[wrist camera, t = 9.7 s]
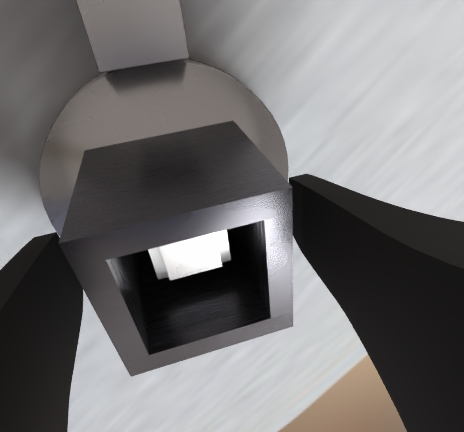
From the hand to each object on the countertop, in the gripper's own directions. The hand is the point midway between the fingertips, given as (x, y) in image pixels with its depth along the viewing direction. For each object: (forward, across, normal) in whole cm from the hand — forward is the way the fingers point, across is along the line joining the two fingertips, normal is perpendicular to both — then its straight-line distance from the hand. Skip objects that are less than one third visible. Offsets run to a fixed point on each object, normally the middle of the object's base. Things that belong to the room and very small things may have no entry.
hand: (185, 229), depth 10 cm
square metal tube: (+2, 0, 0) cm, 2 cm away
